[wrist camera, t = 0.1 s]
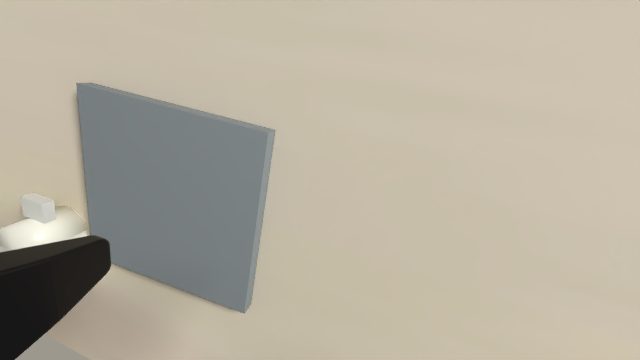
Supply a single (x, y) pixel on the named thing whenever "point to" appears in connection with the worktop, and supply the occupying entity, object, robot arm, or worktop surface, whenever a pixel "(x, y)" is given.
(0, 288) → the robot arm
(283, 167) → the worktop surface
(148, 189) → the slate mat
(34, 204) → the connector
